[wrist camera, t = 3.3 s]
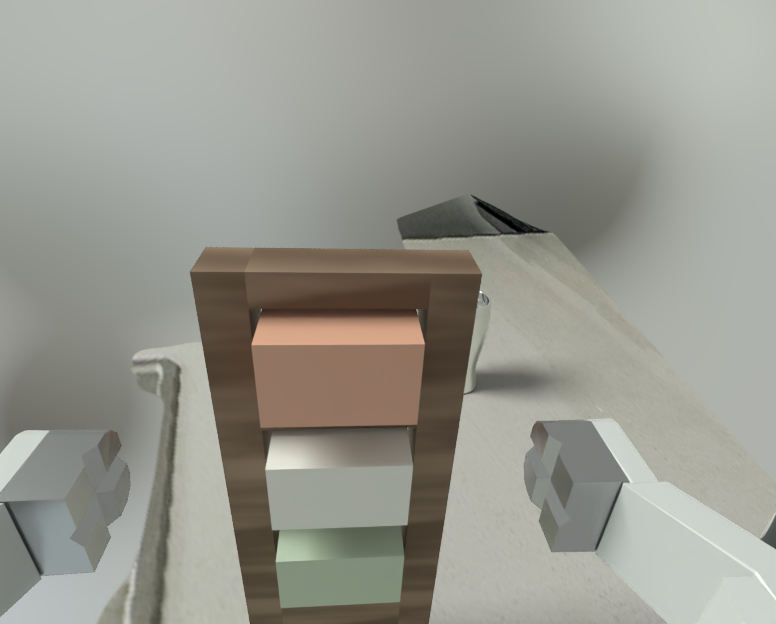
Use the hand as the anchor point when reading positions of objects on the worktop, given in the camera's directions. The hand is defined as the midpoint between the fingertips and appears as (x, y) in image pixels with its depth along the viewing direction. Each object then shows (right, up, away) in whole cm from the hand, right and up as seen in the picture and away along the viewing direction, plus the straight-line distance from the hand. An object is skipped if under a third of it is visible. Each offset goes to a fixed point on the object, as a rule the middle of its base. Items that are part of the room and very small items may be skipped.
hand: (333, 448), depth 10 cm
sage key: (-2, -16, +25) cm, 30 cm away
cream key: (-2, -9, +21) cm, 23 cm away
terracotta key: (-2, -2, +17) cm, 18 cm away
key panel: (-3, -27, +34) cm, 43 cm away
